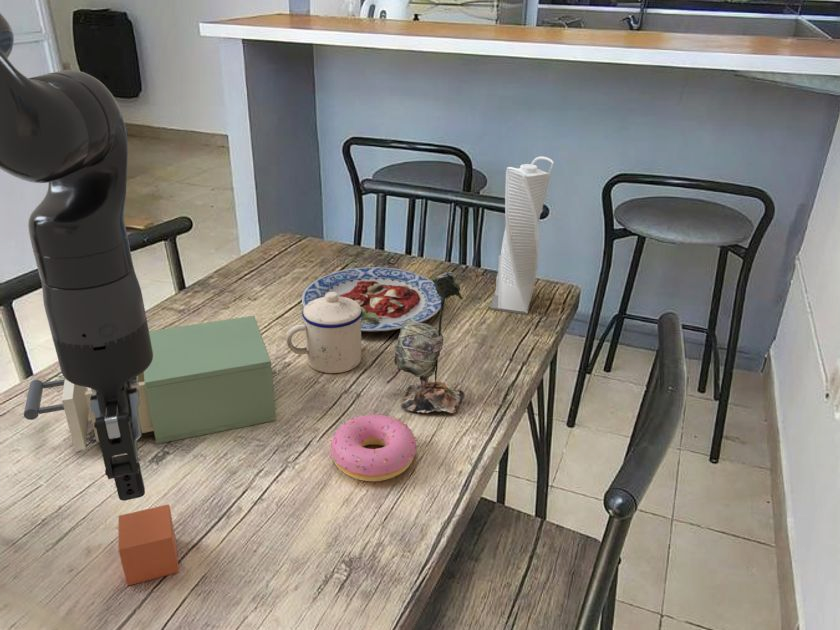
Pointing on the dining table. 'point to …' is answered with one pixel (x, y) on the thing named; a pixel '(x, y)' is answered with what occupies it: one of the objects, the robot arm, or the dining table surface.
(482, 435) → the dining table surface
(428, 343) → the stone figurine
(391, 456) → the doughnut
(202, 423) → the cabinet
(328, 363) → the teacup with lid
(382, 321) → the ceramic plate
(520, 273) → the skyscraper
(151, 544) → the block
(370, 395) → the dining table surface
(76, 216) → the robot arm
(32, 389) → the drawer
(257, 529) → the dining table surface
